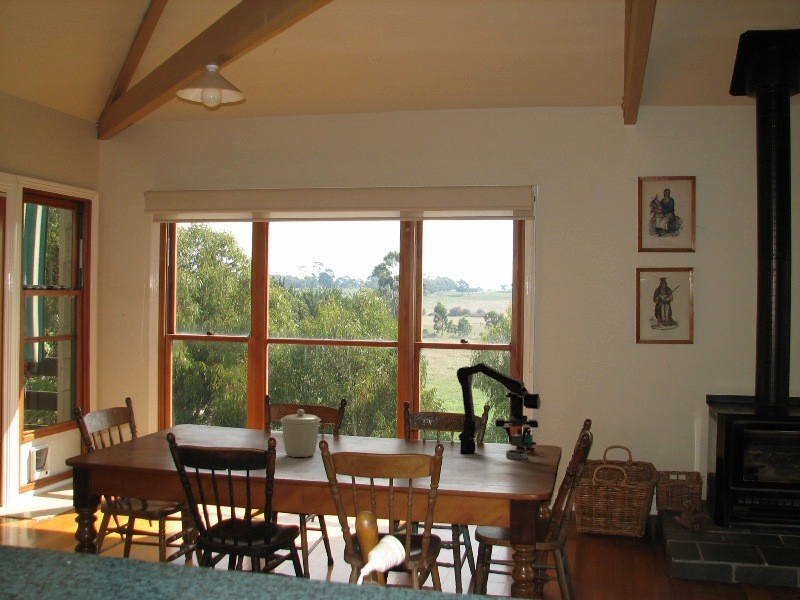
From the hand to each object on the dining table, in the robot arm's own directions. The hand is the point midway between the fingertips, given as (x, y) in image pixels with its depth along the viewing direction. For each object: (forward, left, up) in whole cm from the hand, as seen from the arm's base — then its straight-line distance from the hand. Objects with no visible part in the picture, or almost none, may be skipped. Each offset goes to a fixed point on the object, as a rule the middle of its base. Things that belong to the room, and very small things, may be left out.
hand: (516, 442), depth 337 cm
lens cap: (0, 0, -1) cm, 1 cm away
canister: (-97, -7, -7) cm, 97 cm away
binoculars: (+5, +15, -7) cm, 17 cm away
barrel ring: (0, 0, -7) cm, 7 cm away
